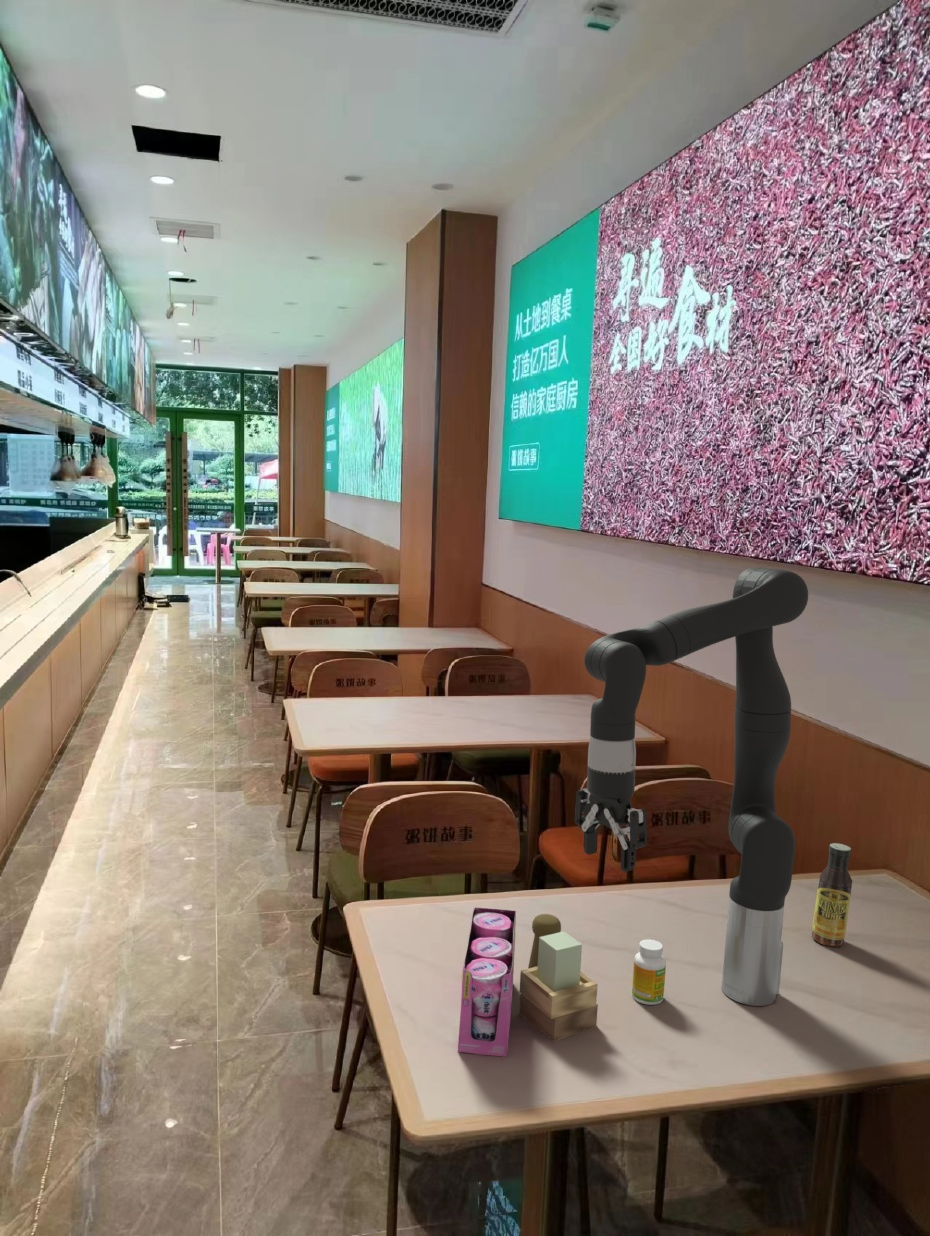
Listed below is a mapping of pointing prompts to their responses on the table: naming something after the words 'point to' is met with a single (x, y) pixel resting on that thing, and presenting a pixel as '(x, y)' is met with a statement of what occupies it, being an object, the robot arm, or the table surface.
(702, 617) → the robot arm
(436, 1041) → the table surface
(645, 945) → the supplement bottle
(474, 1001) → the gum box
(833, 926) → the sauce bottle
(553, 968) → the green block
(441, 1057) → the table surface
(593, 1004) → the block top
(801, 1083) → the table surface
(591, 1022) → the block bottom
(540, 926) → the cork
